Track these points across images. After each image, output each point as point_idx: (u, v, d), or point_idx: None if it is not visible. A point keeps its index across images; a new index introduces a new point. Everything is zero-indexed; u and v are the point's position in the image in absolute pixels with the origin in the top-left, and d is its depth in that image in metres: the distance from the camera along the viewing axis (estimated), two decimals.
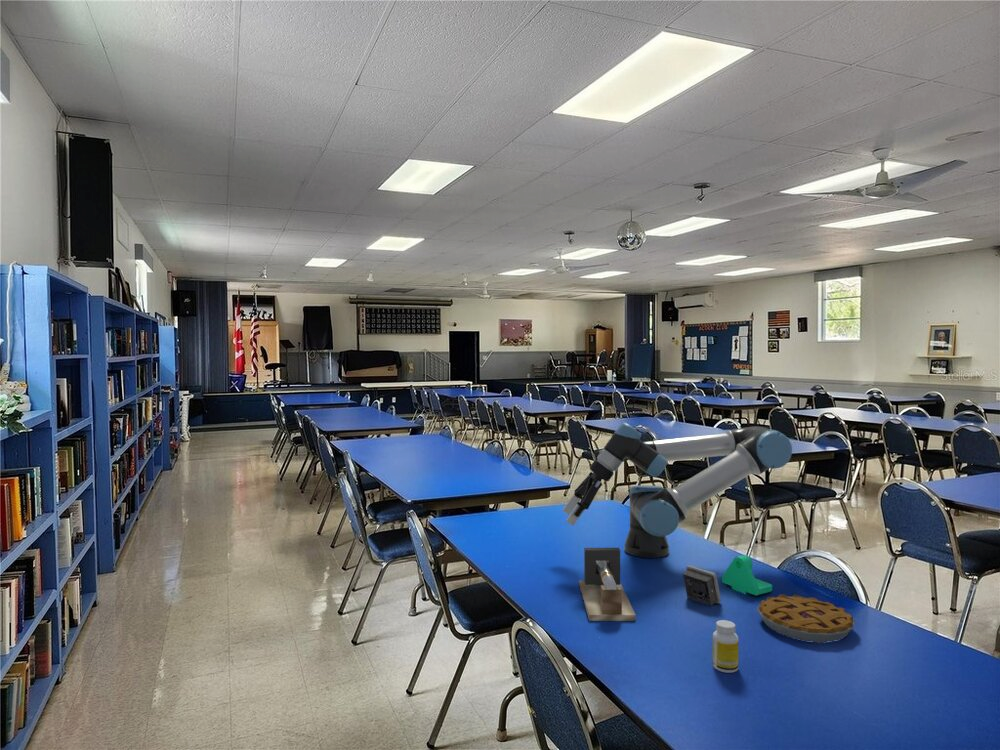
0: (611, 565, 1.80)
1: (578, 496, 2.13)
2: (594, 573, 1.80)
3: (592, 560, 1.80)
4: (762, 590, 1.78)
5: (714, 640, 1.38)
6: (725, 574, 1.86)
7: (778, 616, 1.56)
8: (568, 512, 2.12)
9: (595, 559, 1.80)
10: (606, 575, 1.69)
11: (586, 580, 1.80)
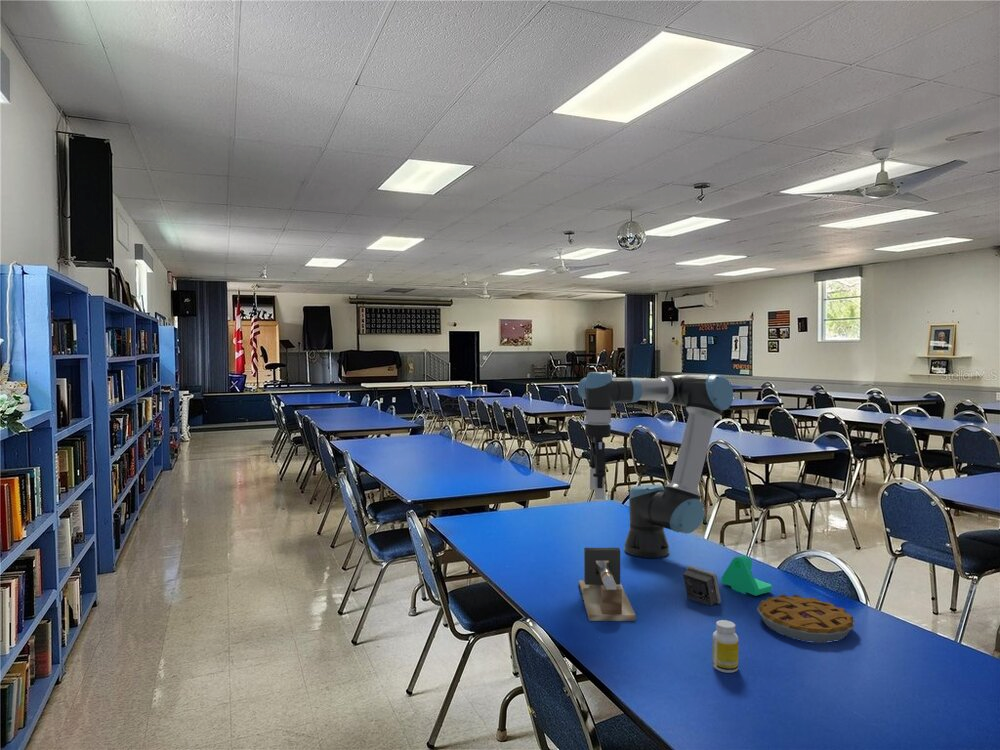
0: (611, 565, 1.80)
1: (595, 466, 1.95)
2: (594, 573, 1.80)
3: (592, 560, 1.80)
4: (761, 590, 1.78)
5: (714, 640, 1.38)
6: (725, 574, 1.86)
7: (778, 616, 1.56)
8: None
9: (595, 559, 1.80)
10: (606, 575, 1.69)
11: (586, 580, 1.80)
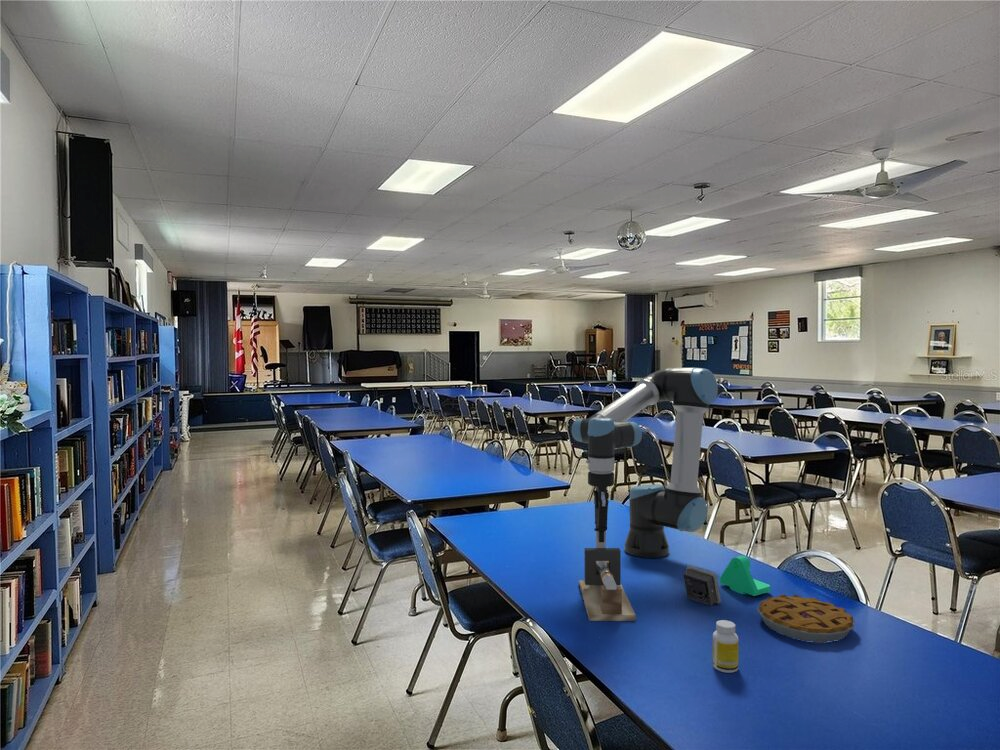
0: (611, 565, 1.79)
1: None
2: (594, 573, 1.79)
3: (592, 560, 1.79)
4: (760, 591, 1.78)
5: (714, 640, 1.38)
6: (723, 575, 1.85)
7: (778, 616, 1.56)
8: None
9: (595, 559, 1.79)
10: (606, 575, 1.69)
11: (586, 580, 1.80)
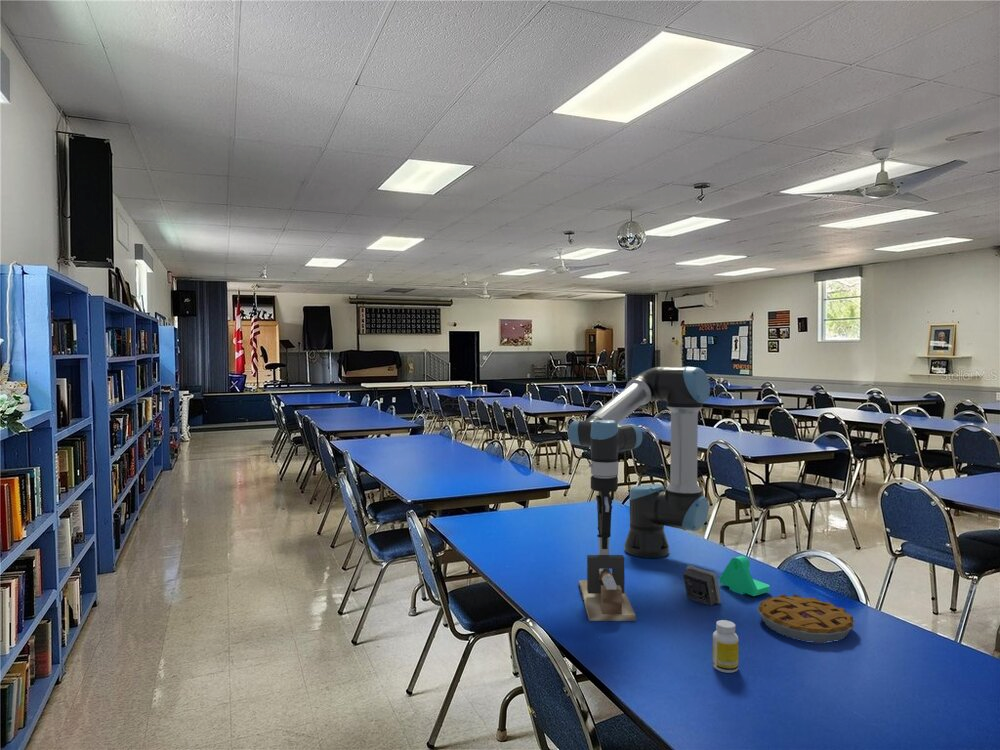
0: (615, 573, 1.73)
1: None
2: (597, 581, 1.73)
3: (595, 568, 1.73)
4: (760, 591, 1.77)
5: (714, 640, 1.38)
6: (722, 575, 1.85)
7: (778, 616, 1.56)
8: None
9: (598, 567, 1.73)
10: (606, 575, 1.69)
11: (589, 589, 1.73)
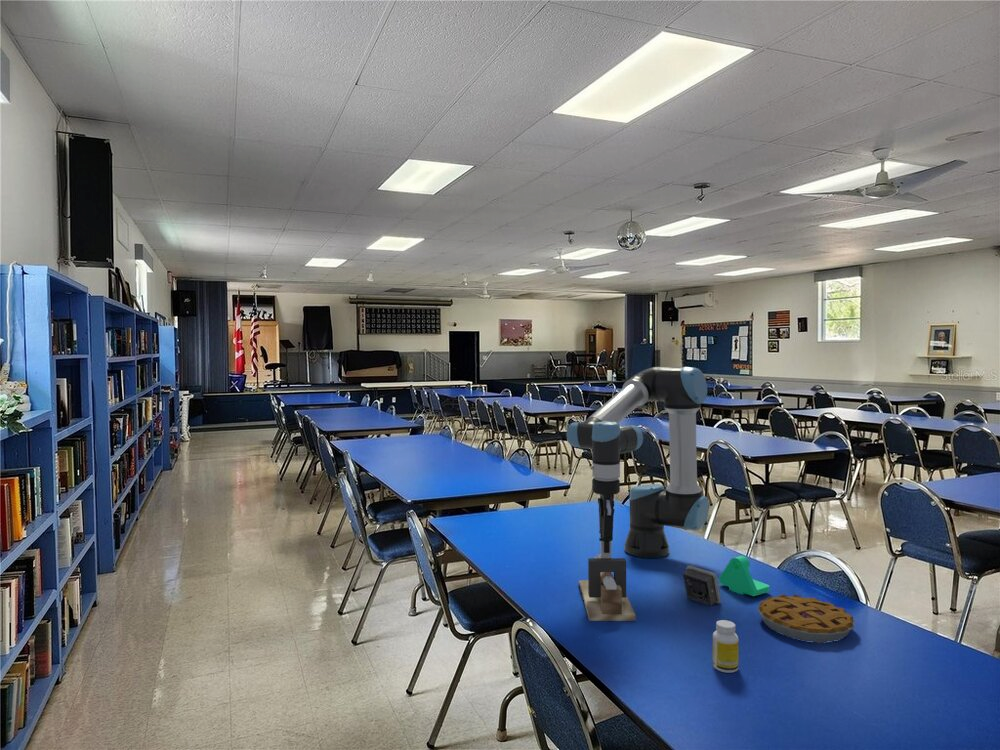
0: (616, 577, 1.70)
1: None
2: (599, 585, 1.70)
3: (596, 571, 1.70)
4: (760, 591, 1.77)
5: (714, 640, 1.38)
6: (722, 575, 1.85)
7: (778, 616, 1.56)
8: None
9: (600, 570, 1.70)
10: (606, 575, 1.69)
11: (590, 593, 1.70)
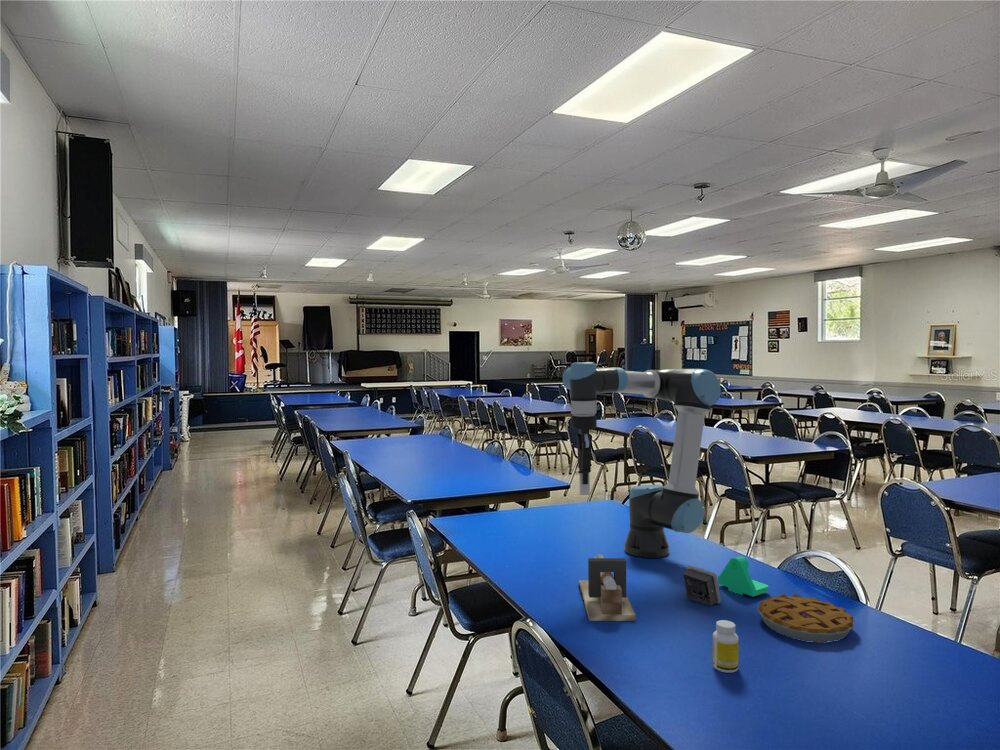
0: (616, 577, 1.70)
1: None
2: (599, 585, 1.70)
3: (596, 571, 1.70)
4: (759, 591, 1.77)
5: (714, 640, 1.38)
6: (721, 575, 1.85)
7: (778, 616, 1.56)
8: None
9: (600, 570, 1.70)
10: (606, 575, 1.69)
11: (590, 593, 1.70)
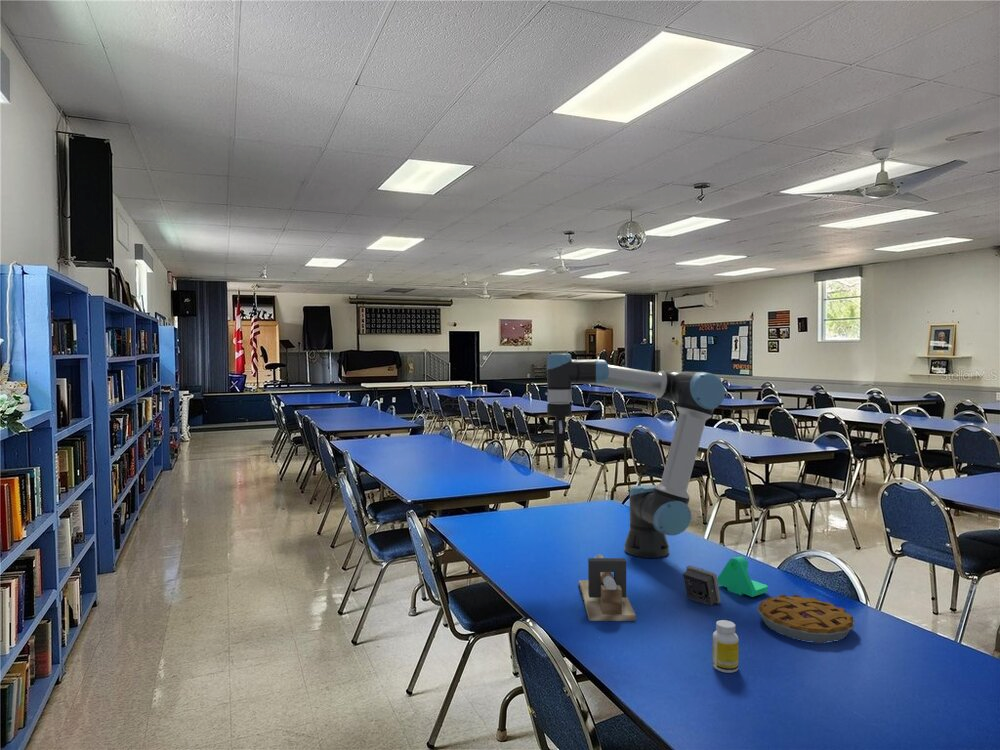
0: (616, 577, 1.70)
1: None
2: (599, 585, 1.70)
3: (596, 571, 1.70)
4: (758, 592, 1.77)
5: (714, 640, 1.38)
6: (720, 576, 1.85)
7: (778, 616, 1.56)
8: None
9: (600, 570, 1.70)
10: (606, 575, 1.69)
11: (590, 593, 1.70)
